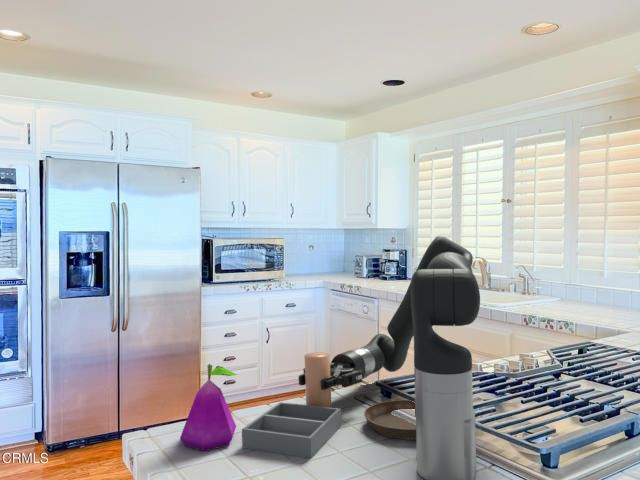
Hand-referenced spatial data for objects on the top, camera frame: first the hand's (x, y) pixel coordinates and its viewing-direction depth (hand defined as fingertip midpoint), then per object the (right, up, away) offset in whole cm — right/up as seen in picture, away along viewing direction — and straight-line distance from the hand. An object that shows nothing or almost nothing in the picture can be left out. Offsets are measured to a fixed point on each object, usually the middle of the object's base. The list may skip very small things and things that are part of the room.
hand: (311, 382), depth 109 cm
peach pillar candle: (+2, -7, +2) cm, 8 cm away
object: (+20, -8, -6) cm, 22 cm away
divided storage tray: (-3, -8, -10) cm, 13 cm away
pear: (-20, -8, -11) cm, 24 cm away
